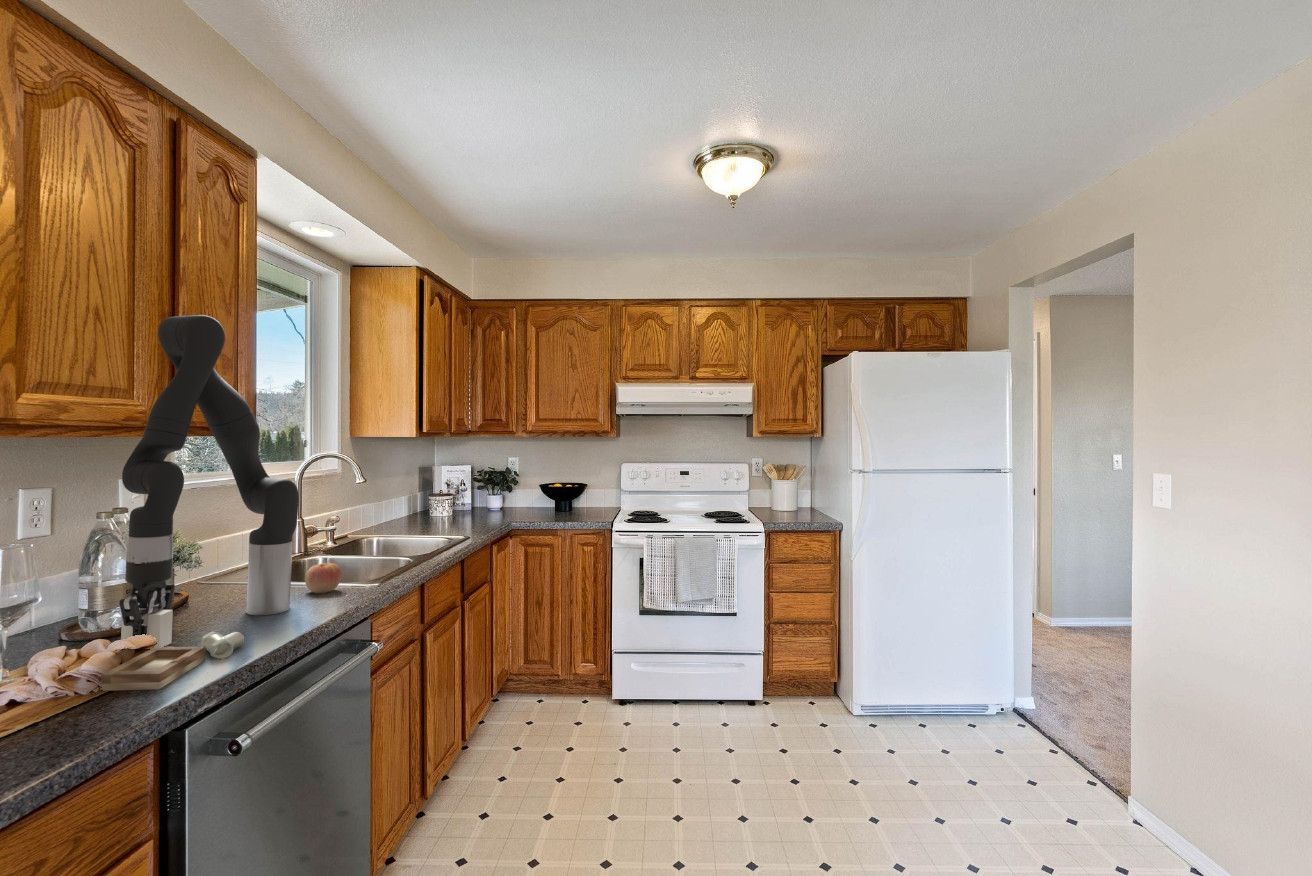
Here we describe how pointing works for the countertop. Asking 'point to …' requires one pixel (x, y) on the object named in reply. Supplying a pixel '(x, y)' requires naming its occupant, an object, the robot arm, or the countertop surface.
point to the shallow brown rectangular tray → (153, 668)
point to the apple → (323, 577)
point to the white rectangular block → (154, 626)
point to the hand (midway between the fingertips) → (146, 640)
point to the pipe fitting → (221, 643)
